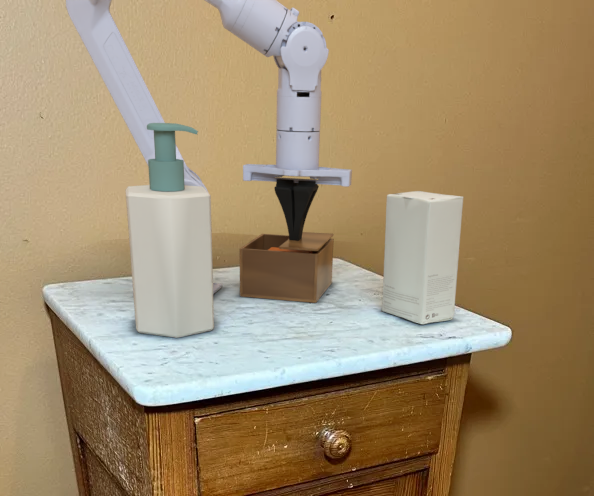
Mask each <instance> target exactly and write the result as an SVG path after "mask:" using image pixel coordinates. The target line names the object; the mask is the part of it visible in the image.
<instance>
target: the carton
mask: <svg viewBox="0 0 594 496" xmlns="http://www.w3.org/2000/svg"><path fill="white" fill-rule="evenodd" d="M288 239H289V234H288V235H287V234H285V235H284V234H271V233H260V235H257V236H256V237H255V238H254V239H252V240H250V241H249V242H247V243H246V244H244V245H242V246H241V247H240V248H239V297H241V298H254V299H255V298H256V299H266V300H277V301H289V302H299V303H301V302H302V303H312V304H313V303H314V304H317V302H318V301H319V300H320V299H321V297H322V296H323V295H324V293H325V292H326V291H327V290H328V289H329V287H330V286H331V285H332V283H333V262H334V242H335V240H334V238H330V239H329V240H328V241H327V242H326V243H325V244H324V245H323V246H322V247H321V248H320V249H319V250H318V251H312V253H299V252H286V251H272V250H268V249H270V248H271V247H276V248H279V246H281V245H282V244H283V243H285V242H286V241H287V240H288Z"/></svg>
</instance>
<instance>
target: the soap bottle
mask: <svg viewBox="0 0 594 496" xmlns="http://www.w3.org/2000/svg"><path fill="white" fill-rule="evenodd" d="M147 129H148V130H154V146H155V159H149V160H148V165H147V169H148V184H143V185H129V186H126V188H125V202H126V216H127V229H128V241H129V244H128V245H129V256H130V269H131V281H132V294H133V296H132V297H133V305H134V306H133V307H134V308H133V309H134V319H135V330H136V331H137V332H138V333H139V334H145V335H153V336H159V337H167V338H176V339H179V338H184V337H189V336H192V335H197V334H203V333H206V332H211V331H213V330H214V328H215V312H214V309H215V308H214V294H213V283H214V269H213V268H214V267H213V268H212V265H213V235H212V234H213V233H212V232H213V231H212V229H213V227H212V196H211V194H210V193H209V191H208V192H207V190H208V189H207V190H206V189H205V188H204V187H200V186H187V185H184V161H185V160H184V161H183V160H180V159H176V146H177V144H176V132H187V133H190V134H193V135H197V136H198V133H199V130H197V129H195V128H194V127H192V126H188V125H185V124H181V123H176V122H175V123H172V122H171V123H170V122H165V123H149V124H148V125H147ZM211 227H212V228H211Z"/></svg>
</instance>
